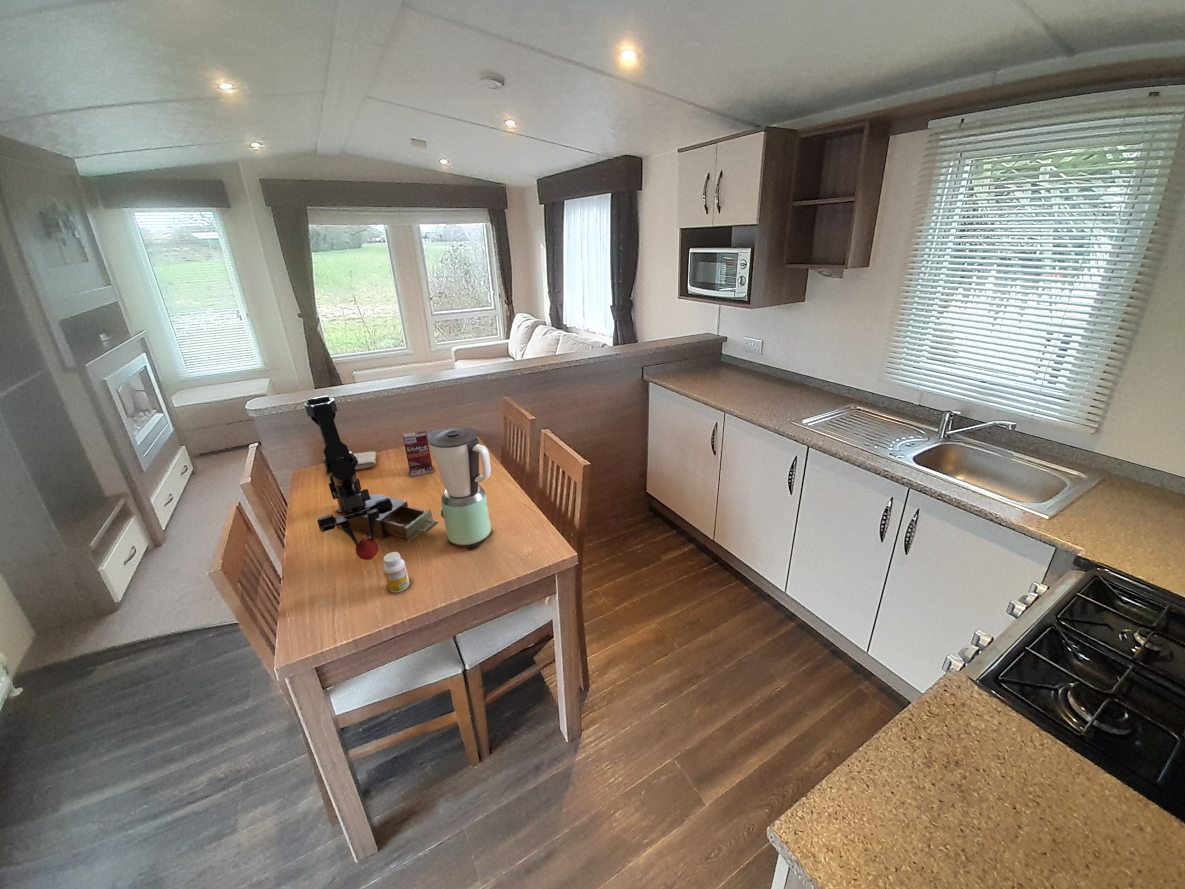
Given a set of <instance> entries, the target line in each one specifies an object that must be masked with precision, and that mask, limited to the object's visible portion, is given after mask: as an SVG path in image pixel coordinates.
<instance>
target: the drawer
mask: <svg viewBox="0 0 1185 889" xmlns="http://www.w3.org/2000/svg"><path fill="white" fill-rule="evenodd" d="M381 522H382V526H383V530H384V533H388V535H392V536H396V537H400V538H403V539H406V541H407V542H412V541H413V540H414V539H415V538H417V537H418V536H419V535H420V534H422V535H426V534H427V533H428V532H430V530H432V529H434V527H435V526H437V525H438V524H439V521H438V520H437V519H434V518H433V513H432V510H431V509H427V510H426V511H425V510H424V509H422V508H421V509H420V508H416V507H412V506H409V505H408V506H402V507H401V508H399V509H398V510H397V511H395V512H394V513H392V514H391V515H390V516H388V517H387V518H385V519H384V520H383V521H381Z"/></svg>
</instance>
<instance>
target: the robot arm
mask: <svg viewBox="0 0 1185 889" xmlns="http://www.w3.org/2000/svg"><path fill="white" fill-rule="evenodd" d="M306 401H307V402H306V403H303V405H304V409H305V412H306V415H307V417H310V419H311V421H312V422H314V423H315V424H316V425H317V426H318V428H319V430H320V434H321V437H322V441H323V444H324V448H323V454H324V458H323V459H322V461H323V464H324V467H325V470H326V473H327V475H328V478H329V482H328V483H327V484H328V487H329V490H330V493H331V497H332V499H333V500H337V504H338V508H336V510H335V512H337V513H340V515H338V516H334V514H333V513H331V514H327V515H324V516H321V517H318V519H317V520H316V521H317V524H318V529H319V530H320V532H321V533H325V532H328V531H331V530H334V529H337V531H341V530H342V531H343V532H344V533H345V534H346V535H347V536H348V538H350V540H351V541H352V542H353V543H354V544H355V547H356V546H358V542H359V541H358V539H357V538H356V535H355V533H354V530H353V529H351V527H350V525H349V522H348V520H351V519H354V518H357V517H360V516H364V515H368V523H369V529H370V534H369V535H370V538H371V539H372V541H374V540H375V535H374V525H375V519H376V518H379V514H383V513H386V512H390V511H392V502H391V500H390V499H389V498H384V499H381V500H378V501H375V505H373V506H370V507H367V508H366V503H365V501H368V500H371V498H370V495H371V494H370V491H369V489H368V488H365V489H362V485H361V481H360V480H361V479H359V478H358V477H357V470H356V469H355V467H356V466H357V464H358V460H357V458H356V456H355V455H354V454H355V453H353V452H352V451H350V450H349V447H348V444H346V443H344V442H343V441H342V440H341V437H340V434H339V432H338V429H337V428H338V427H337V425H336V422H335V419H336V415H337V414H336V412H338V408H337V407H338V406H337V404H336V400H335V399H334V398H333V397H332V398H330V397H329V395H323V396H318V397H312V398H307V400H306ZM361 512H363V513H361ZM358 513H359V514H358ZM351 515H353V516H351ZM348 516H350V517H348Z"/></svg>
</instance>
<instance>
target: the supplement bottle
mask: <svg viewBox="0 0 1185 889" xmlns="http://www.w3.org/2000/svg"><path fill="white" fill-rule="evenodd" d="M383 562H384V564H383V566H382V570H383V574H384V577H385V581H386V586H387V588H388V590H389V591H390V592H391V593H400V592H403V591H405V590H406V589H407V588H408V587H409V586H410V577H409V573H408V570H407V566H406V562H405V560H404V559H403V558H402V557H401V554H400V553H399V552H398V551H392V552H389V553H387V554H385V555H384V557H383Z"/></svg>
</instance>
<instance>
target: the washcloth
mask: <svg viewBox="0 0 1185 889" xmlns="http://www.w3.org/2000/svg"><path fill="white" fill-rule="evenodd" d="M353 454H354V455H355V456H356V458H357V460H358V464H357V466H356V467H355V469H356V471H358V470H362V469H369V468H372V467H375V466H376V462H377V460H376V459H377V452H376V451H364V452H357V453H353Z"/></svg>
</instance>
